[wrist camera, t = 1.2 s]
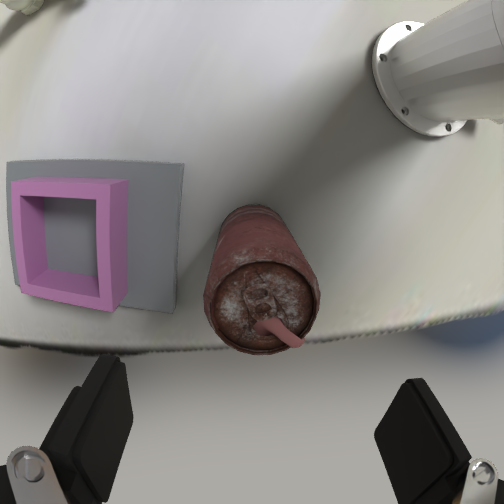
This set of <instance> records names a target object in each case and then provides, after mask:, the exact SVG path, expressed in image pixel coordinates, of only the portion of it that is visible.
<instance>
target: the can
mask: <svg viewBox="0 0 504 504" xmlns="http://www.w3.org/2000/svg"><path fill="white" fill-rule="evenodd" d="M320 295H321V294H320V290H319V285H318V281H317V278H316V276H315V274H314V273H313V271H312V269H311V267H310V266H309V264H308V262H307V260H306V259H305V257H304V255H303V254H302V252H301V250H300V248H299V247H298V245H297V243H296V242H295V240H294V238H293V237H292V235H291V233H290V232H289V230H288V228H287V227H286V225H285V223H284V222H283V220H282V219H281V218H280V216H279V215H278V214H277V213H276V212H274V211H273V210H271V209H270V208H268V207H265V206H261V205H246V206H243V207H240V208H237V209H236V210H235V211H233V212H232V213H230V214H229V215H228V216H227V218H226V219H225V221H224V222H223V224H222V227H221V230H220V233H219V237H218V241H217V244H216V248H215V252H214V256H213V260H212V264H211V267H210V271H209V275H208V279H207V283H206V287H205V291H204V295H203V297H204V311H205V314H206V316H207V318H208V321H209V323H210V325H211V327H212V328H213V329H214V331H215V333H216V334H217V335H218V336H219V337H220V338H221V339H222V340H223V341H224V342H225V344H227V345H229V346H230V347H232V348H234V349H236V350H238V351H240V352H244V353H248V354H252V355H271V354H275V353H278V352H282V351H285V350H287V349H289V348H290V347H292V348H297V347H300V346H301V345H302V344H303V343H304V341H305V338H304V337H305V336H306V335H307V333H308V332H309V331H310V330H311V327H312V325H313V323H314V321H315V319H316V315H317V313H318V311H319V304H320Z"/></svg>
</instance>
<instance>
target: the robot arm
mask: <svg viewBox="0 0 504 504" xmlns="http://www.w3.org/2000/svg"><path fill="white" fill-rule="evenodd" d="M380 59H381V60H380ZM372 67H373V74H374V78H375V82H376V85H377V87H378V90H379V92H380V95H381V96H382V98H383V100H384V101H385V103H386V105H387V106H388V107H389V109H390V110H391V111H392V113H393V114H394V115H395V116H396V117H397V118H398V119H399V120H400V121H401V122H402V123H403V124H405V125H406V126H408V127H409V128H411V129H412V130H414V131H416V132H418V133H420V134H423V135H428V136H438V137H441V136H448V135H451V134H453V133H456V132H457V131H458V130H460V129H461V128H462V127H463V126H464V124H465V123H466V122H467V120H469V119H490V120H492V121H494V122H495V123H497V124H502V123H504V0H468V1H466V2H464V3H462V4H460V5H458V6H457V7H455V8H453V9H451V10H449V11H447V12H445V13H443V14H442V15H440V16H438V17H436V18H434V19H433V20H431V21H429V22H427V23H426V24H422V23H418V22H412V21H407V22H400V23H396V24H394V25H392V26H390V27H389V28H387V29H386V30H385V31H384V32H383V33H381V35H380V36H379V38H378V39H377V41H376V43H375V46H374V49H373V55H372ZM401 110H402V111H403V113H402V111H401ZM132 423H133V411H132V406H131V400H130V395H129V388H128V381H127V374H126V367H125V363H122V362H120V358H119V357H116V356H112V355H107V354H101V355H100V356H99V358H98V360H97V361H96V363H95V365H94V366H93V368H92V370H91V371H90V373H89V375H88V376H87V378H86V380H85V382H84V383H83V385H82V387H79V386H76V387H74V388H73V390H72V391H71V393H70V394H69V396H68V398H67V400H66V401H65V403H64V405H63V406H62V408H61V410H60V412H59V413H58V415H57V417H56V419H55V420H54V422H53V424H52V426H51V428H50V430H49V432H48V433H47V435H46V437H45V439H44V441H43V443H42V445H41V447H40V448H39V449H38V448H35V447H32V446H22V447H19V448H17V449H15V450H14V451H12V452H11V454H10V455H9V456H8V459H7V465H3V466H0V504H102V502H105V503H106V502H107V501H108V499H109V496H110V492H111V489H112V486H113V482H114V479H115V476H116V473H117V470H118V466H119V463H120V460H121V457H122V454H123V451H124V448H125V445H126V442H127V439H128V436H129V433H130V430H131V427H132ZM374 438H375V441H376V443H377V446H378V449H379V451H380V454H381V457H382V460H383V462H384V465H385V468H386V470H387V473H388V476H389V479H390V481H391V484H392V487H393V490H394V492H395V496H396V498H397V501H398V504H504V481H503V480H500V479H498V472H497V469H496V467H495V465H494V464H493V463H492V462H490V461H489V460H487V459H483V458H479V459H476V460H474V461H472V462H471V463H469V460H470V459H471V458H472V457H471V455H470V453H469V451H468V450H467V448H466V446H465V445H464V443H463V441H462V439H461V438H460V436H459V434H458V433H457V431H456V429H455V428H454V426H453V424H452V423H451V421H450V420H449V418H448V416H447V415H446V413H445V411H444V410H443V408H442V407H441V405H440V403H439V402H438V400H437V399H436V397H435V396H434V394H433V392H432V391H431V390H430V388H429V386H428V385H427V383H426V382H425V380H424V379H422V378H414V379H407V380H406V381H405V383H403V384H402V385H401V387H400V389H399V390H398V392H397V394H396V396H395V398H394V399H393V401H392V403H391V405H390V406H389V408H388V410H387V412H386V413H385V415H384V417H383V418H382V420H381V422H380V423H379V425H378V426H377V428H376V430H375V433H374Z"/></svg>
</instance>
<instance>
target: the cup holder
mask: <svg viewBox="0 0 504 504" xmlns="http://www.w3.org/2000/svg"><path fill="white" fill-rule="evenodd" d="M183 170H184V164H180V163H166V162H149V161H128V160H90V159H59V160H23V161H10V162H7V173H6V192H7V218H8V232H9V242H10V251H11V259H12V266H13V273H14V279H15V284H16V285H20V288H21V293H24V294H28V295H32V296H36V297H41V298H45V299H49V300H54V301H58V302H63V303H68V304H72V305H77V306H82V307H87V308H92V309H98V310H103V311H108V312H114V311H115V309H116V308H117V307H118V305H120V306H126V307H132V308H139V309H145V310H152V311H159V312H166V313H173V311H174V309H175V306H176V273H177V250H178V233H179V217H180V204H181V192H182V180H183Z"/></svg>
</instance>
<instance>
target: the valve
mask: <svg viewBox="0 0 504 504" xmlns="http://www.w3.org/2000/svg"><path fill="white" fill-rule="evenodd" d="M44 1H45V0H0V2H1V3H3V4H5V5H6V6H7V7H8V8H9V9H11V10H15V11H18V10H20V11H21V12H22V13H24V14H26V15H30V14H31V13H33V12H35V11H37V10H39V9H40V8H41V6H42V4H43V3H44Z"/></svg>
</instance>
